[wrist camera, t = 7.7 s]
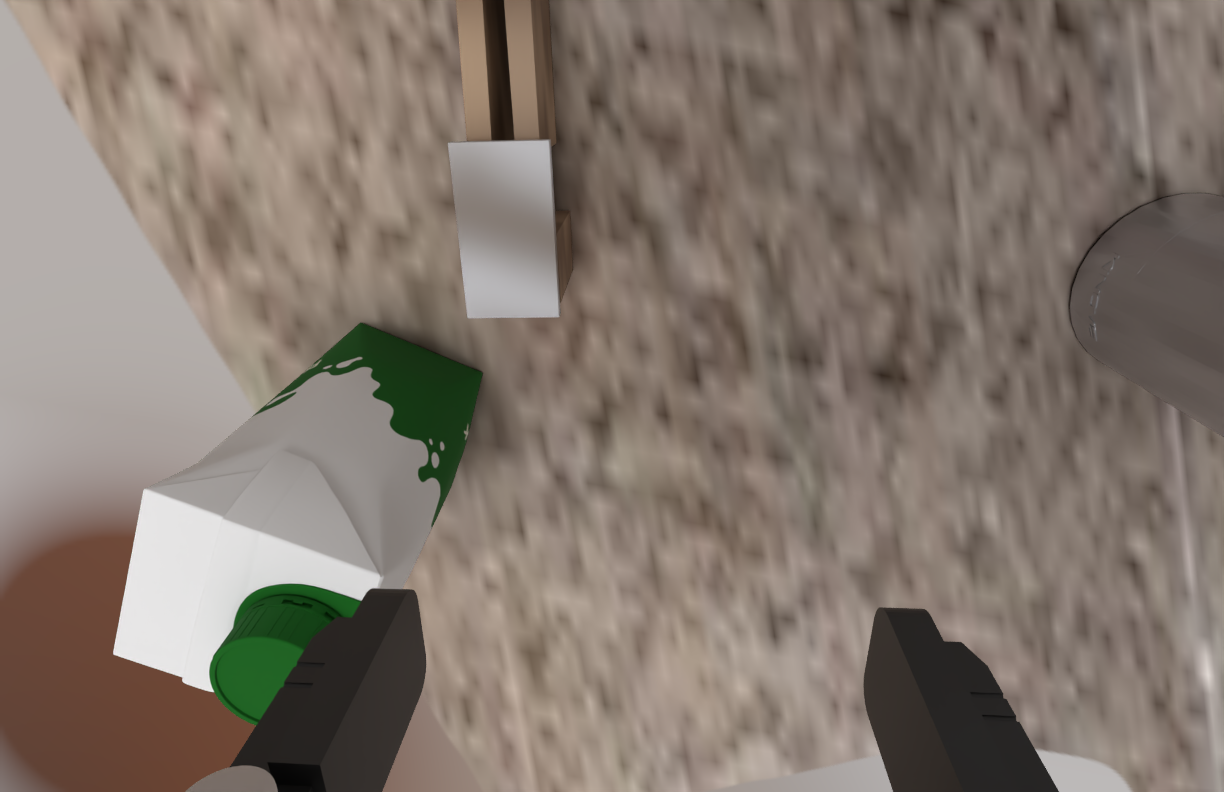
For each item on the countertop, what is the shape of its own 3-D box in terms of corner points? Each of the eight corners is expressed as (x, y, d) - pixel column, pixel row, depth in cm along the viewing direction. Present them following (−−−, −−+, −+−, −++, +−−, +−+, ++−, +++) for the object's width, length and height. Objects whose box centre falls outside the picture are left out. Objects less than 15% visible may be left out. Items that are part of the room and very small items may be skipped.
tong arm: (552, 202, 35) (536, 222, 30) (498, 201, 35) (473, 222, 30) (539, -195, 29) (516, -257, 23) (473, -194, 29) (435, -256, 23)
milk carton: (454, 488, 42) (312, 795, 24) (308, 431, 41) (41, 709, 23) (504, 364, 39) (383, 612, 21) (346, 298, 38) (69, 500, 20)
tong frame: (573, 276, 37) (559, 317, 30) (497, 278, 37) (467, 318, 31) (550, -194, 29) (525, -272, 23) (454, -190, 29) (401, -265, 23)
